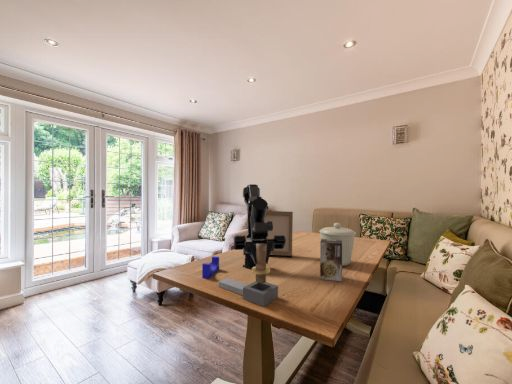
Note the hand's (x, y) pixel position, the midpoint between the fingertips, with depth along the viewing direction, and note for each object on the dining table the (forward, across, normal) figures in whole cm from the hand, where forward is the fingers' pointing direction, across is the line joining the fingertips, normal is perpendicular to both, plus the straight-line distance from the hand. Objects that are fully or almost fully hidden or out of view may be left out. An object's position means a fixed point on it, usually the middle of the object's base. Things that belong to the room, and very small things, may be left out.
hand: (261, 263), depth 83 cm
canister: (-17, +45, +35) cm, 59 cm away
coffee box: (-3, +33, +21) cm, 39 cm away
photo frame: (-32, +15, +50) cm, 61 cm away
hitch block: (+5, -5, +13) cm, 15 cm away
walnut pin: (+4, 0, +6) cm, 7 cm away
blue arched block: (-10, -20, +29) cm, 36 cm away
